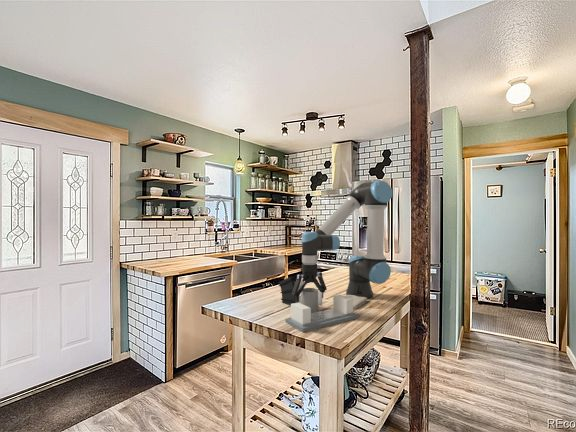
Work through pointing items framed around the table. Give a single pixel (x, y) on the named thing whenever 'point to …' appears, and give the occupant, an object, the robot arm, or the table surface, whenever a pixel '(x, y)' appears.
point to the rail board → (321, 324)
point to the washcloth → (357, 300)
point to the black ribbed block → (288, 290)
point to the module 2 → (343, 304)
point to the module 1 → (301, 313)
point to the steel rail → (324, 316)
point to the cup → (310, 298)
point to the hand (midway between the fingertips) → (309, 307)
